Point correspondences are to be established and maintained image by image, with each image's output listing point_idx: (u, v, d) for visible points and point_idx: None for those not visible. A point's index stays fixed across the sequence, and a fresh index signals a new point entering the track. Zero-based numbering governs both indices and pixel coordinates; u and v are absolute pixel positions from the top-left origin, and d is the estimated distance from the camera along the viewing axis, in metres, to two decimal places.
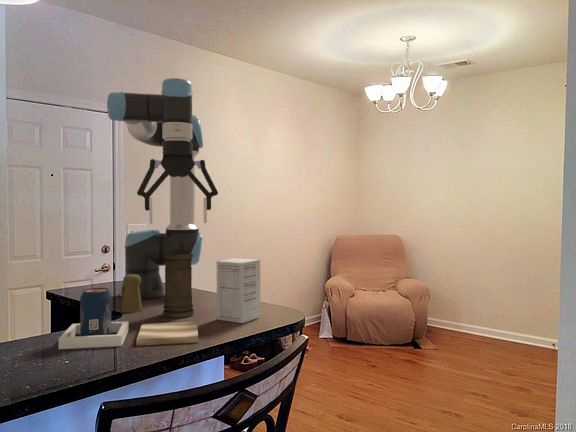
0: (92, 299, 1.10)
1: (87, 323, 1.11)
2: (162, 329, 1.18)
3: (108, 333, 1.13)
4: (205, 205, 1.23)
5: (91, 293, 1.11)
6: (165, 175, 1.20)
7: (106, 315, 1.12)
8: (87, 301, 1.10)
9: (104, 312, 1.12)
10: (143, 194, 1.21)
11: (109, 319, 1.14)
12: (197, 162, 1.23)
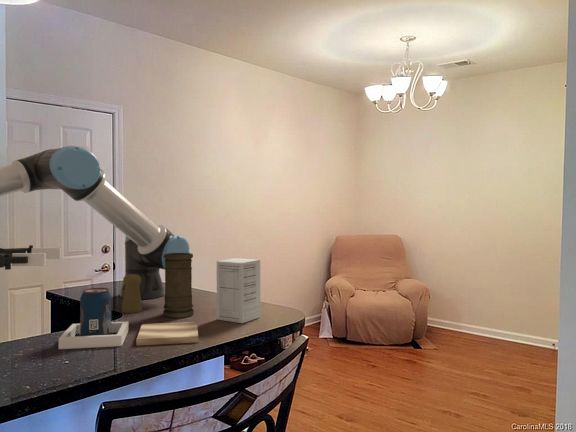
0: (92, 299, 1.10)
1: (87, 323, 1.11)
2: (162, 329, 1.18)
3: (108, 333, 1.13)
4: (22, 265, 1.04)
5: (91, 293, 1.11)
6: None
7: (106, 315, 1.12)
8: (87, 301, 1.10)
9: (104, 312, 1.12)
10: None
11: (109, 319, 1.14)
12: None
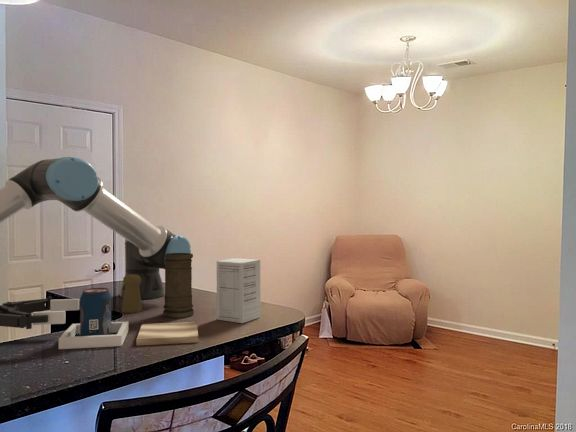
0: (92, 299, 1.10)
1: (87, 324, 1.11)
2: (162, 329, 1.18)
3: (108, 333, 1.13)
4: None
5: (91, 293, 1.11)
6: None
7: (106, 315, 1.12)
8: (87, 301, 1.10)
9: (104, 312, 1.12)
10: None
11: (109, 319, 1.14)
12: None
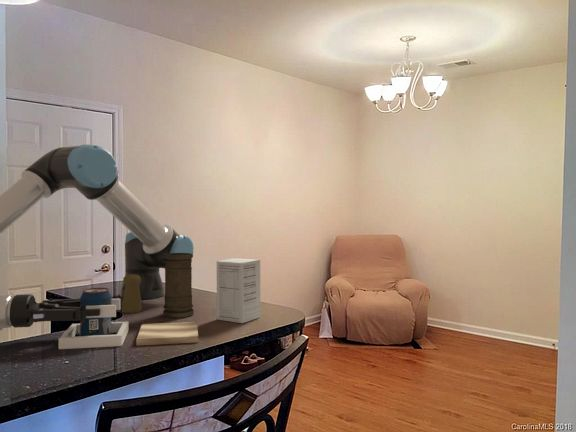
0: (92, 299, 1.10)
1: (87, 323, 1.11)
2: (162, 329, 1.18)
3: (108, 333, 1.13)
4: None
5: (91, 293, 1.11)
6: None
7: None
8: (87, 301, 1.10)
9: None
10: None
11: (109, 319, 1.14)
12: None
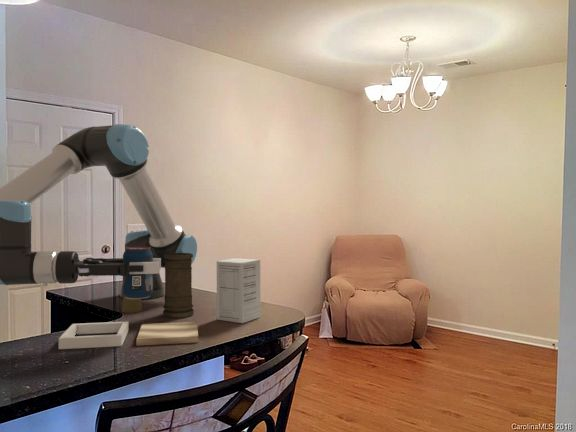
0: (135, 255, 1.11)
1: (130, 280, 1.11)
2: (162, 329, 1.18)
3: (150, 290, 1.14)
4: (138, 273, 1.11)
5: (134, 250, 1.12)
6: None
7: None
8: (130, 258, 1.11)
9: None
10: None
11: (151, 277, 1.14)
12: None
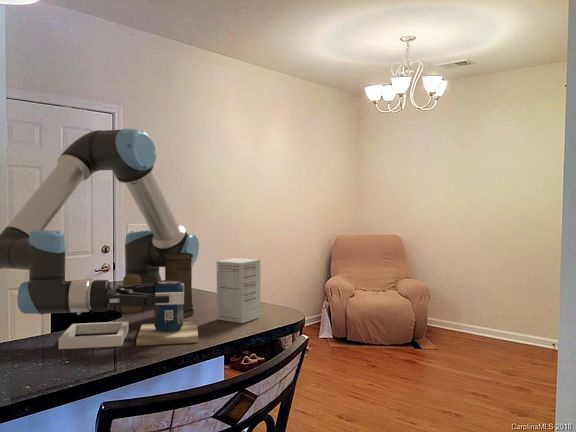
0: (168, 290, 1.14)
1: (162, 314, 1.14)
2: None
3: (181, 324, 1.17)
4: None
5: (166, 285, 1.14)
6: None
7: (180, 306, 1.16)
8: (163, 292, 1.14)
9: None
10: None
11: (182, 310, 1.17)
12: None
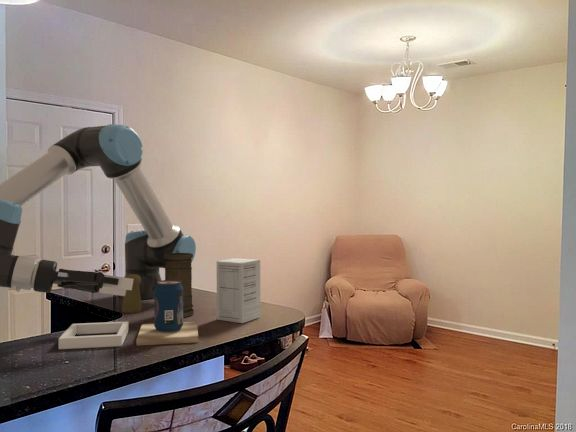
0: (167, 290, 1.14)
1: (162, 314, 1.14)
2: None
3: (181, 324, 1.17)
4: (111, 287, 1.11)
5: (166, 285, 1.14)
6: (74, 288, 1.17)
7: (180, 307, 1.16)
8: (163, 292, 1.14)
9: (178, 303, 1.15)
10: None
11: (182, 310, 1.17)
12: None
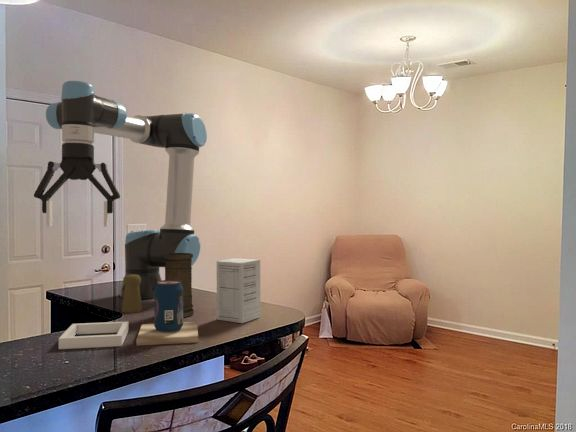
0: (167, 290, 1.14)
1: (162, 314, 1.14)
2: None
3: (181, 324, 1.17)
4: (105, 208, 1.22)
5: (166, 285, 1.14)
6: (63, 177, 1.19)
7: (180, 307, 1.16)
8: (163, 292, 1.14)
9: (178, 303, 1.15)
10: (40, 196, 1.19)
11: (182, 310, 1.17)
12: (98, 165, 1.22)
